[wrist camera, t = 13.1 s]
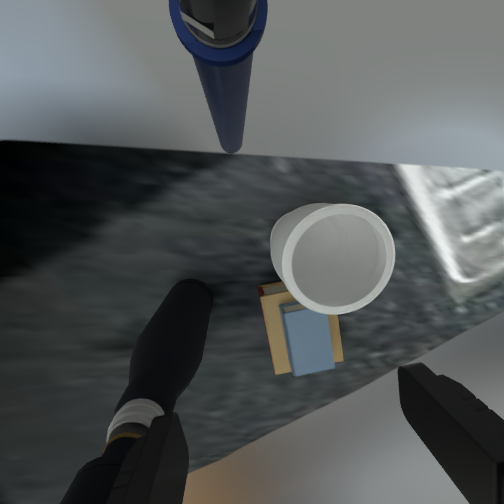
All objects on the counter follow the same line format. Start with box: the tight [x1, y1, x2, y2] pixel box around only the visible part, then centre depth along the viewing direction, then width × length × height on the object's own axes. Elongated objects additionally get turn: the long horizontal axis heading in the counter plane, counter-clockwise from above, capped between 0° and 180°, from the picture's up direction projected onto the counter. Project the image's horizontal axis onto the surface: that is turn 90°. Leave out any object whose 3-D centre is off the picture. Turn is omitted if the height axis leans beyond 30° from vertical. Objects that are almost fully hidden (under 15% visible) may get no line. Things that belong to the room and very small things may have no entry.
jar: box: [270, 203, 395, 315], centre depth 32 cm, size 11×10×15 cm
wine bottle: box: [60, 279, 213, 504], centre depth 25 cm, size 6×6×30 cm
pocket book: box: [279, 301, 335, 377], centre depth 36 cm, size 9×6×3 cm, turn 11°
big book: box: [257, 281, 344, 375], centre depth 40 cm, size 12×10×4 cm
